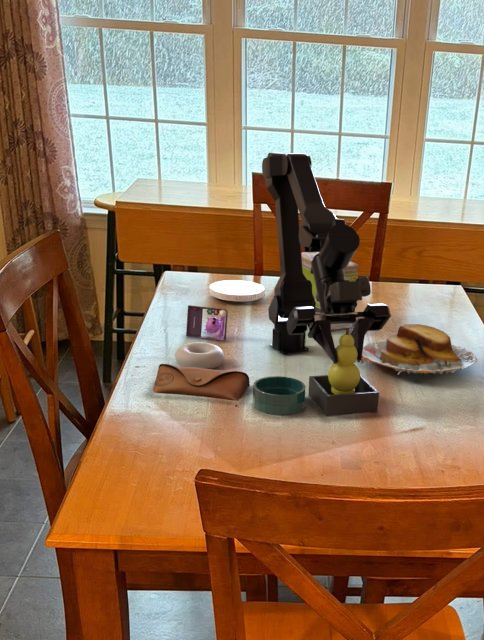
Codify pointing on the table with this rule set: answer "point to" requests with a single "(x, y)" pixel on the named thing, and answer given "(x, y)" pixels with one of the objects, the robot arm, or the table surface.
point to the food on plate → (418, 351)
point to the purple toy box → (212, 324)
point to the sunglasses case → (201, 382)
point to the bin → (343, 397)
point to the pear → (345, 367)
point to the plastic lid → (237, 290)
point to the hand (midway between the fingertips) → (347, 362)
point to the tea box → (307, 258)
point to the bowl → (279, 395)
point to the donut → (199, 355)
